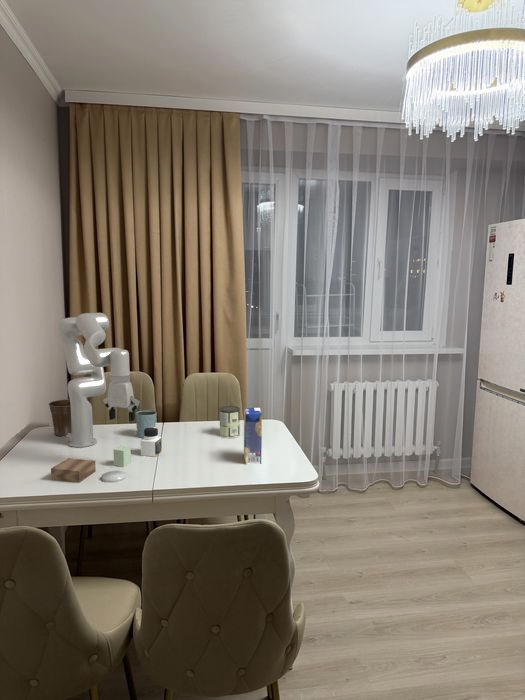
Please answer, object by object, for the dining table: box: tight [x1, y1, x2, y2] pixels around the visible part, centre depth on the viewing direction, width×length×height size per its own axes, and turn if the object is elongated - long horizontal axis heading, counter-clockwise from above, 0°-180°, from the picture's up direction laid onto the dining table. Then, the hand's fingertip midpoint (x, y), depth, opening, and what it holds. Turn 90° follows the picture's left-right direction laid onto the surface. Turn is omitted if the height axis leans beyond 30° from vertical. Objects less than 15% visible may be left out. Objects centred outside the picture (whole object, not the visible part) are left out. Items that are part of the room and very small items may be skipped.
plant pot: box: [48, 398, 72, 437], centre depth 259 cm, size 16×16×16 cm
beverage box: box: [243, 407, 263, 465], centre depth 223 cm, size 7×11×22 cm, turn 6°
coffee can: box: [219, 405, 241, 439], centre depth 259 cm, size 10×10×14 cm
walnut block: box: [50, 457, 97, 484], centre depth 204 cm, size 12×12×5 cm
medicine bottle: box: [140, 426, 163, 458], centre depth 230 cm, size 7×7×12 cm
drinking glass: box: [135, 409, 157, 439], centre depth 257 cm, size 10×10×12 cm
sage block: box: [112, 445, 132, 468], centre depth 217 cm, size 5×5×7 cm
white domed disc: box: [101, 470, 127, 483], centre depth 203 cm, size 9×9×2 cm
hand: (122, 419), depth 215 cm, fingers open, 9 cm apart
